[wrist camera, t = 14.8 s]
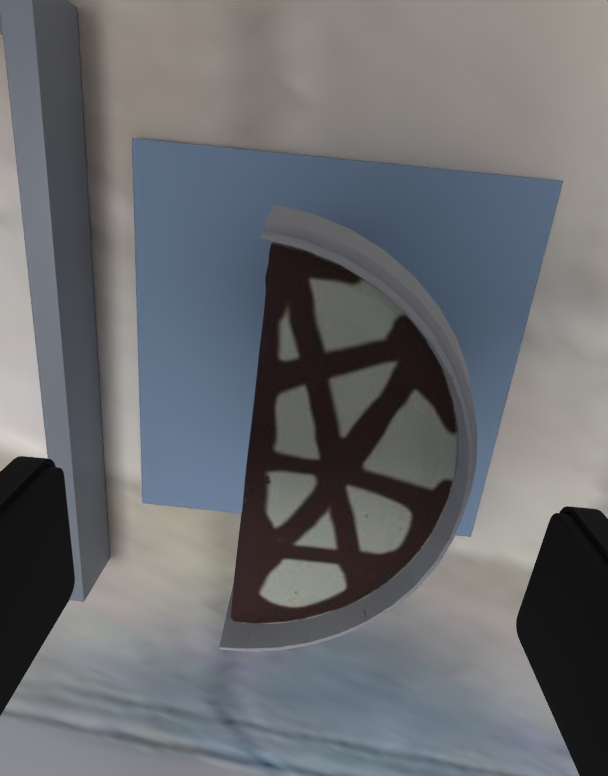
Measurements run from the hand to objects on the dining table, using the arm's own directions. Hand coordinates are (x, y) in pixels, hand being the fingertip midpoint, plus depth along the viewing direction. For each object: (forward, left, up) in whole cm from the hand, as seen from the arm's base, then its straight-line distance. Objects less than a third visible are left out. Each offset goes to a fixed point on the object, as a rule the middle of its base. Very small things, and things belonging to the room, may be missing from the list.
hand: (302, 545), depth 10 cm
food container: (0, +1, -13) cm, 13 cm away
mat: (0, 0, -13) cm, 13 cm away
